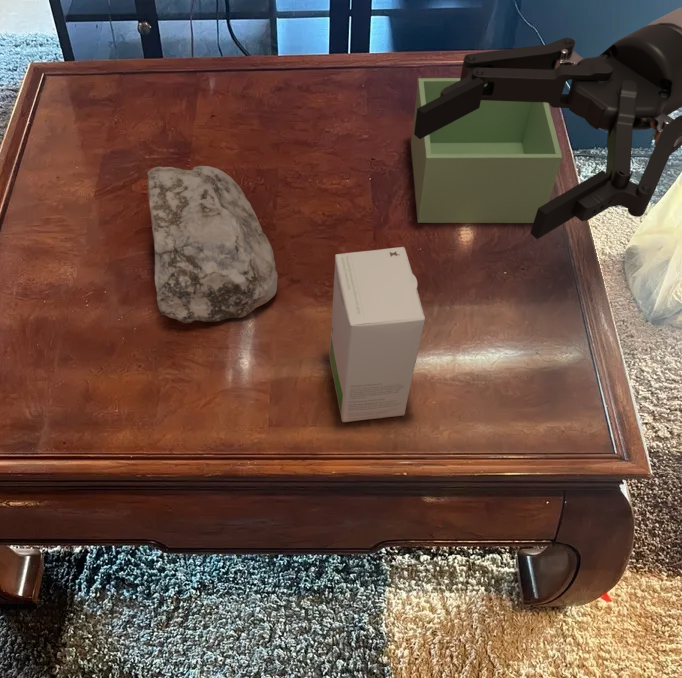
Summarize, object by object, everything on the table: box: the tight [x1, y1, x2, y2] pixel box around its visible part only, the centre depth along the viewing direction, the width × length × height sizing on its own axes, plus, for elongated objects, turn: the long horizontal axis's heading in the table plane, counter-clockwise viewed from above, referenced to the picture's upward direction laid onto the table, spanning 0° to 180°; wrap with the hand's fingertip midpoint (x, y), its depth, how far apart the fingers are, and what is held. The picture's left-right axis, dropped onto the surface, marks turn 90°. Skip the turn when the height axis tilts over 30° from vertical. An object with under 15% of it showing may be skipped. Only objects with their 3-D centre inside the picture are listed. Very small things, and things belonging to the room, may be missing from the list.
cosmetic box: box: [329, 246, 426, 423], centre depth 74 cm, size 8×7×16 cm
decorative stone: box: [146, 165, 279, 324], centre depth 88 cm, size 20×14×10 cm
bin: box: [410, 77, 563, 224], centre depth 93 cm, size 14×14×10 cm
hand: (474, 171), depth 63 cm, fingers open, 13 cm apart
